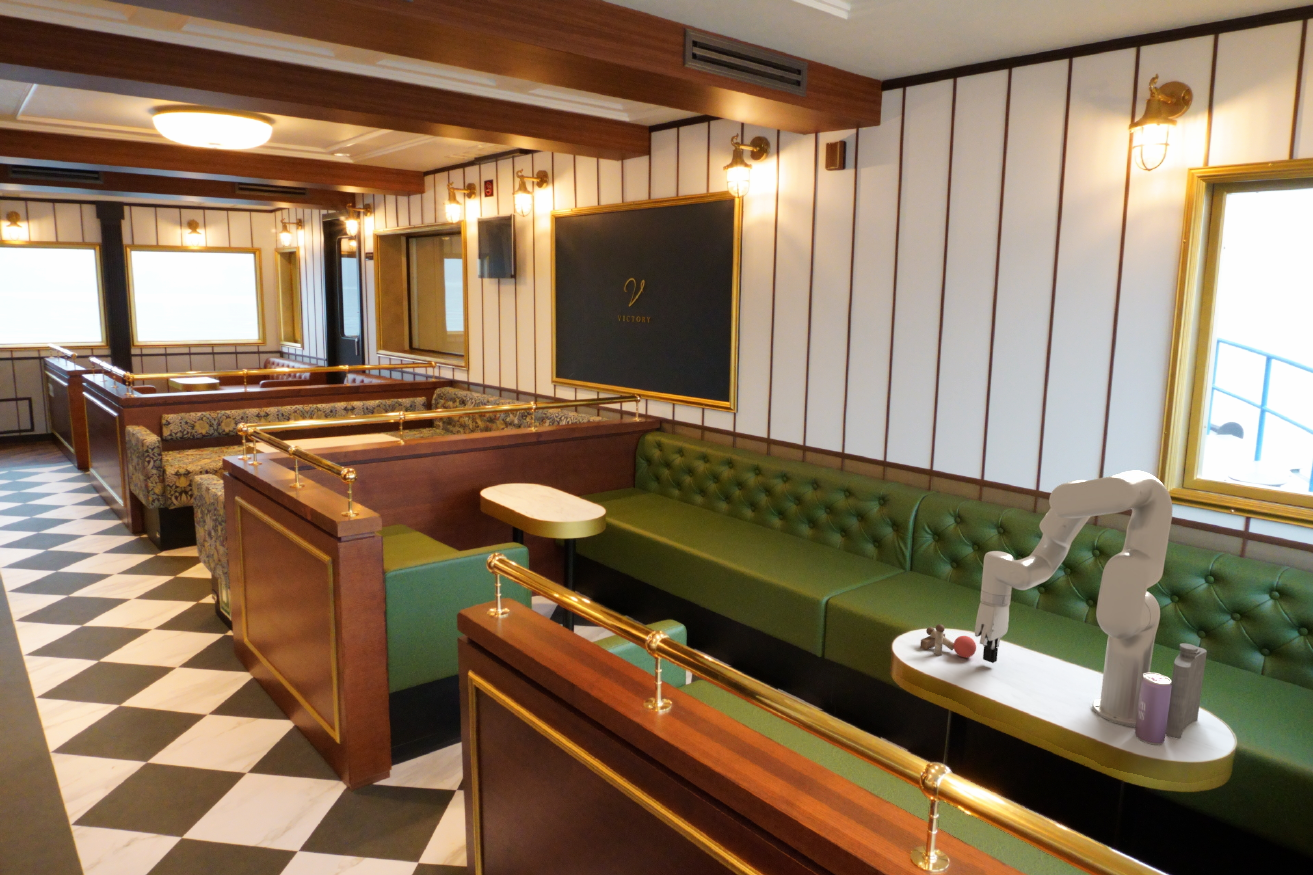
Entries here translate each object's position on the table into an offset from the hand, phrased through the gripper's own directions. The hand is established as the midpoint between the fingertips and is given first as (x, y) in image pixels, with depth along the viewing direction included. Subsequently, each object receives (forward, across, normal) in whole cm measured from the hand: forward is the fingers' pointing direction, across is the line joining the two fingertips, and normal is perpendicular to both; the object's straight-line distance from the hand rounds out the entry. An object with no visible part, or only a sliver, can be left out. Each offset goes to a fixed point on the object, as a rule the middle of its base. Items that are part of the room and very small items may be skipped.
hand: (989, 660), depth 224 cm
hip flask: (+2, -6, +45) cm, 45 cm away
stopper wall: (+2, 0, -18) cm, 18 cm away
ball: (-1, 0, -8) cm, 8 cm away
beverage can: (+2, +7, +43) cm, 43 cm away
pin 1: (0, 0, -11) cm, 11 cm away
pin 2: (+2, +4, -13) cm, 14 cm away
